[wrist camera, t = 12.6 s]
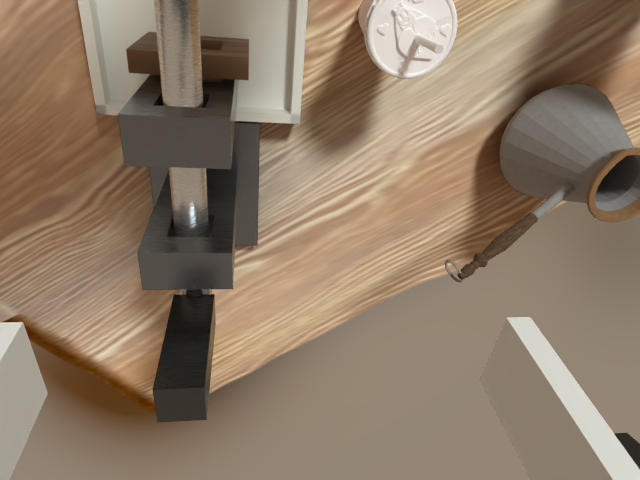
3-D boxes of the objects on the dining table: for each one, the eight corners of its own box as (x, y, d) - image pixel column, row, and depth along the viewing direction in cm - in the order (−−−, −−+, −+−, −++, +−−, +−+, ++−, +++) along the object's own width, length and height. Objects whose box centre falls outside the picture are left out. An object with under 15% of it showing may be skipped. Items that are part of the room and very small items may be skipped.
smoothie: (371, 70, 42) (419, 116, 30) (327, 11, 39) (360, 36, 27) (429, 19, 40) (504, 46, 28) (387, -48, 37) (452, -48, 25)
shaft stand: (140, 54, 38) (78, 112, 24) (260, 62, 40) (266, 121, 26) (160, 237, 48) (123, 354, 34) (257, 238, 49) (259, 350, 35)
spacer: (148, 31, 37) (126, 49, 30) (249, 39, 38) (248, 57, 31) (150, 51, 38) (128, 72, 31) (248, 58, 39) (248, 80, 32)
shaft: (149, -35, 25) (90, -28, 16) (204, -30, 26) (178, -20, 16) (180, 311, 38) (158, 427, 29) (217, 310, 39) (206, 424, 29)
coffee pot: (591, 55, 44) (730, 97, 31) (600, 157, 50) (719, 227, 37) (384, 151, 46) (434, 225, 33) (416, 237, 52) (470, 327, 39)
